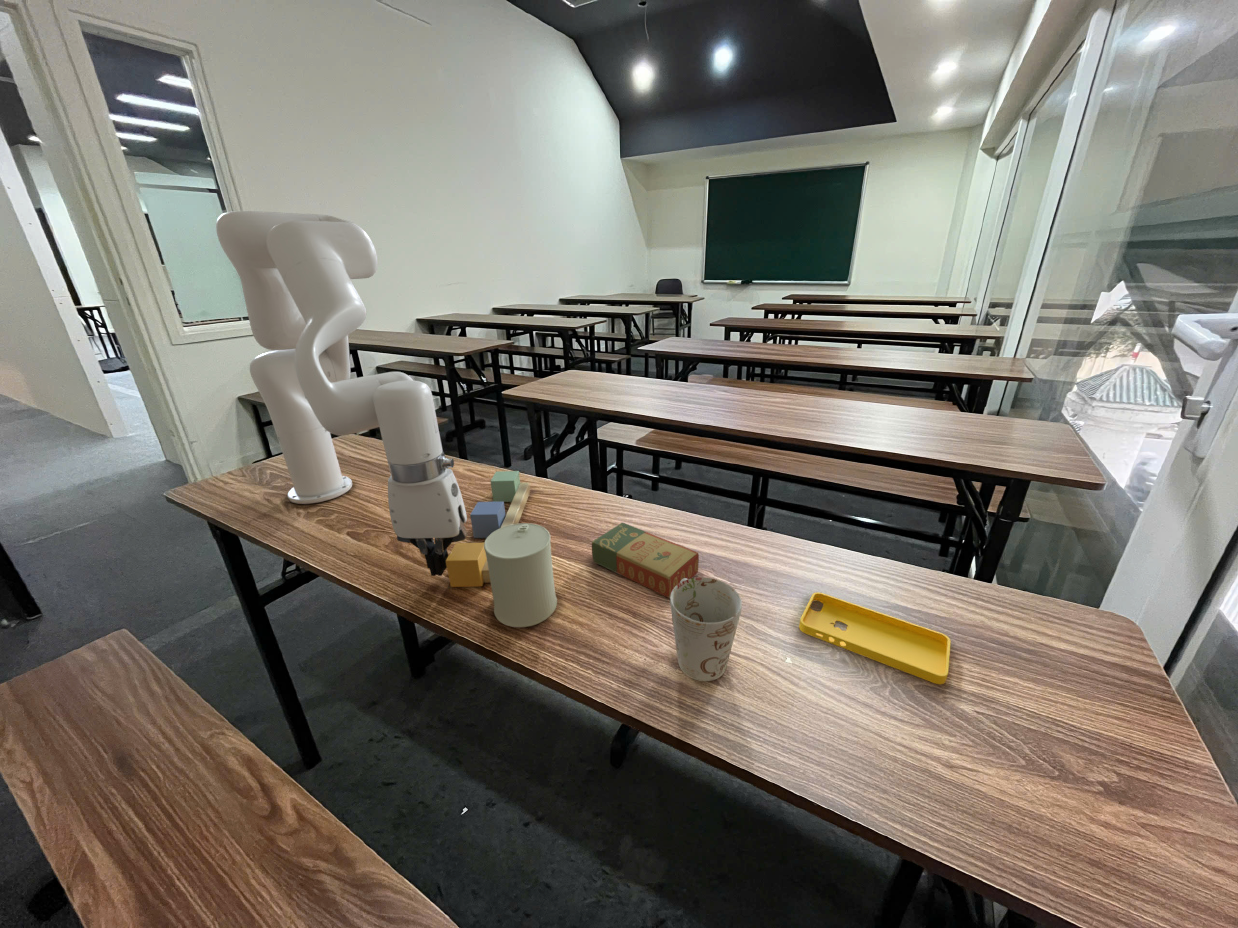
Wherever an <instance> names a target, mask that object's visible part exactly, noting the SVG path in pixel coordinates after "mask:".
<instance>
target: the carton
mask: <svg viewBox="0 0 1238 928" xmlns="http://www.w3.org/2000/svg"><path fill="white" fill-rule="evenodd" d="M591 556H592V562H593V563H595V564H597V565H599V566H601V567H603V568H606V569H607V570H610V571H611V572H614V573H616V574H618V575H620V576H622V577H624V578H627V579H629V580H631V581H633V582H634V583H637V584H639V585H642V586H643V587H646V589H647V588H648V589H649V590H652V591H654V592H656V593H657V594H660V595H661V596H664V597H665V598H668V599H670V596H671V592H672V590H673V589H674V587H675V586H676V585H678V584H679V583H680V581H681V580H682V579H684V578H686V579H692V578H695V576H696V575H697V574H699V563H700V562H699V561H700V560H699V559H700V556H699V551H696V550H693V549H690V548H688V547H685V546H684V545H680V544H678V543H675V542H673V541H671V540H668V539H665V538H663V537H660V536H658V535H656V534H653V533H650V532H647V531H646V530H642V529H640V528H638V527H635V526H633V525H631V524H628V523H625V522H620V523H619V524H618V525H616V526H615V527H613V528H611V529H610V530H608V531H606V532H605V533H604V534H602V535H601V536H599V537H596V538H595V539H594V540H592V541H591Z"/></svg>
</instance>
